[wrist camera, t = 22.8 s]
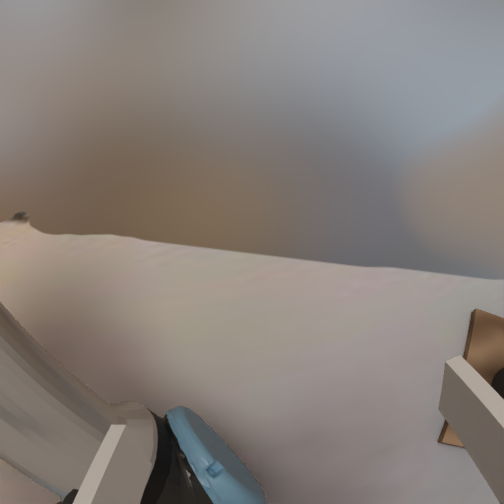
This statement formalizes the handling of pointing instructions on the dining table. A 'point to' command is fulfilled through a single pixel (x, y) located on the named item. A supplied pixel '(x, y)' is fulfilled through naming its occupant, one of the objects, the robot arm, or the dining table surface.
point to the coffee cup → (499, 382)
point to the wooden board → (481, 356)
